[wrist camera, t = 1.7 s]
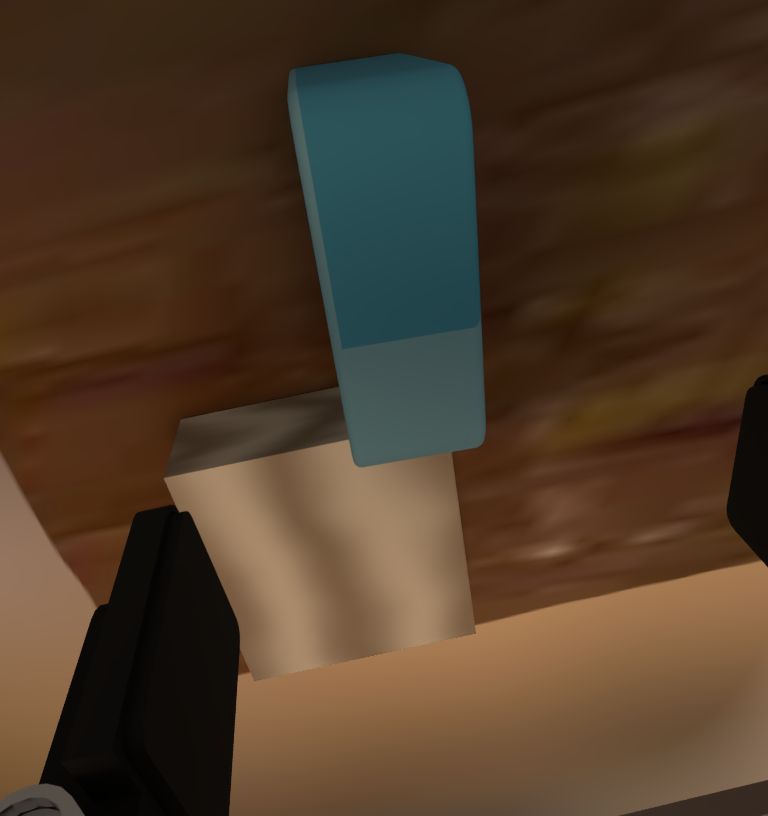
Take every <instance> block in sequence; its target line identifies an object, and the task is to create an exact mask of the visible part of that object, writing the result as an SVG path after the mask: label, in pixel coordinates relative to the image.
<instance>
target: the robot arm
mask: <svg viewBox="0 0 768 816" xmlns="http://www.w3.org/2000/svg"><path fill="white" fill-rule="evenodd" d="M727 516H728V519H729V522H730V524H731V526H732V527H733V528H734V530H735V531H736V532H737V533H738V534H739V535H740V537H741V538H742V539H743V540H744V541H745V542H746V543H747V544H748V545H749V547H750V548H751V549H752V550H753V551H754V552H755V553H756V554H757V556H758V557H759V558H760V559H761V560H762V561H763V562H764V563H765V564H766V566H767V567H768V374H767V375H763V376H761V377H759V378H758V379H757V380H756V381H755V384H754V387H751V388H749V390H748V391H747V394H746V397H745V403H744V409H743V415H742V421H741V427H740V432H739V438H738V444H737V450H736V456H735V462H734V467H733V473H732V479H731V485H730V491H729V497H728V502H727ZM239 651H240V631H239V625H238V621H237V618H236V616H235V613H234V611H233V609H232V607H231V604H230V602H229V600H228V598H227V595H226V593H225V591H224V588H223V586H222V584H221V582H220V579H219V577H218V575H217V572H216V570H215V568H214V566H213V563H212V561H211V559H210V557H209V554H208V552H207V550H206V547H205V545H204V543H203V541H202V538H201V536H200V534H199V531H198V529H197V527H196V525H195V522H194V520H193V518H192V516H191V514H190V513H189V512H188V511H183V512H179V511H178V509H177V508H176V507H175V506H174V505H169V506H164V507H160V508H155V509H150V510H146V511H141V512H138V513H137V514H135V517H134V519H133V522H132V525H131V529H130V532H129V536H128V539H127V542H126V546H125V549H124V552H123V556H122V559H121V563H120V566H119V569H118V573H117V576H116V579H115V583H114V586H113V590H112V593H111V596H110V600H109V603H108V604H104V605H100V606H99V607H98V608H97V609H96V610H95V612H94V614H93V617H92V619H91V622H90V625H89V628H88V631H87V634H86V637H85V640H84V644H83V647H82V650H81V653H80V656H79V659H78V663H77V666H76V669H75V672H74V675H73V678H72V681H71V685H70V688H69V691H68V694H67V697H66V701H65V704H64V707H63V710H62V713H61V716H60V719H59V722H58V726H57V729H56V732H55V735H54V738H53V741H52V745H51V748H50V751H49V754H48V757H47V760H46V764H45V767H44V770H43V773H42V776H41V779H40V782H39V785H33V786H27V787H25V788H23V789H20V790H18V791H16V792H14V793H11V794H9V795H7V796H6V797H4V798H3V799H2V800H0V816H229V805H230V790H231V789H230V788H231V775H232V774H231V773H232V759H233V744H234V728H235V727H234V726H235V713H236V696H237V681H238V666H239ZM620 816H768V780H766V781H762V782H758V783H754V784H750V785H745V786H741V787H737V788H733V789H729V790H724V791H720V792H716V793H712V794H708V795H704V796H699V797H695V798H691V799H687V800H683V801H678V802H674V803H670V804H666V805H662V806H658V807H654V808H649V809H645V810H642V811H637V812H633V813H629V814H625V815H620Z"/></svg>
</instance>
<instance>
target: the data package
mask: <svg viewBox="0 0 768 816" xmlns="http://www.w3.org/2000/svg"><path fill="white" fill-rule="evenodd" d="M287 101H288V109H289V115H290V121H291V128H292V133H293V139H294V145H295V151H296V156H297V162H298V167H299V173H300V178H301V183H302V189H303V194H304V200H305V205H306V210H307V216H308V221H309V227H310V232H311V237H312V243H313V248H314V254H315V259H316V264H317V270H318V275H319V281H320V286H321V291H322V297H323V302H324V308H325V313H326V318H327V324H328V329H329V335H330V340H331V345H332V351H333V356H334V362H335V367H336V373H337V378H338V383H339V389H340V394H341V400H342V405H343V410H344V416H345V421H346V427H347V432H348V437H349V443H350V448H351V453H352V458H353V462H354V464H355V465H356V466H358V467H368V466H374V465H379V464H385V463H391V462H396V461H402V460H408V459H414V458H419V457H425V456H431V455H436V454H442V453H448V452H454V451H459V450H465V449H471V448H476V447H479V446H480V445H481V444H482V443H483V441H484V438H485V433H486V415H485V393H484V371H483V348H482V326H481V303H480V281H479V258H478V236H477V213H476V191H475V168H474V146H473V129H472V119H471V112H470V105H469V100H468V95H467V91H466V88H465V84H464V81H463V79H462V76H461V75H460V73H459V71H458V70H457V69H456V68H455V67H454V66H452V65H450V64H446V63H442V62H438V61H433V60H429V59H425V58H420V57H416V56H411V55H407V54H403V53H395V54H389V55H382V56H375V57H368V58H361V59H355V60H348V61H341V62H334V63H327V64H321V65H314V66H307V67H300V68H294V69H292V70H291V71H290V73H289V81H288V95H287Z"/></svg>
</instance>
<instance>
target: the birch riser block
mask: <svg viewBox="0 0 768 816" xmlns="http://www.w3.org/2000/svg"><path fill="white" fill-rule="evenodd" d="M164 480H165V482H166V484H167V487H168V489H169V491H170V493H171V495H172V498H173V500H174V502H175V504H176V507H177V509H178V511H179V512H183V511H188V512H189V513H190V514H191V516H192V518H193V520H194V522H195V525H196V527H197V529H198V531H199V534H200V536H201V538H202V541H203V543H204V545H205V547H206V550H207V552H208V554H209V557H210V559H211V561H212V563H213V566H214V568H215V570H216V572H217V575H218V577H219V579H220V582H221V584H222V586H223V588H224V591H225V593H226V595H227V598H228V600H229V602H230V604H231V607H232V609H233V611H234V613H235V616H236V618H237V621H238V625H239V631H240V650H241V652H242V654H243V657H244V659H245V661H246V663H247V665H248V668H249V670H250V672H251V674H252V677H253V679H254V681H257V680H262V679H267V678H271V677H276V676H281V675H285V674H290V673H294V672H299V671H304V670H308V669H313V668H318V667H322V666H327V665H332V664H336V663H341V662H346V661H350V660H355V659H359V658H364V657H369V656H373V655H378V654H382V653H387V652H392V651H396V650H401V649H405V648H410V647H414V646H419V645H424V644H429V643H434V642H438V641H443V640H447V639H452V638H457V637H461V636H466V635H471V634H475V633H476V631H475V624H474V616H473V609H472V601H471V594H470V586H469V579H468V571H467V564H466V556H465V549H464V541H463V534H462V526H461V519H460V511H459V504H458V496H457V489H456V481H455V474H454V466H453V459H452V452H448V453H442V454H436V455H431V456H425V457H419V458H414V459H408V460H402V461H396V462H391V463H385V464H379V465H374V466H368V467H358V466H356V465H355V464H354V462H353V458H352V453H351V448H350V443H349V437H348V432H347V427H346V421H345V416H344V410H343V405H342V400H341V394H340V389H339V387H334V388H330V389H325V390H320V391H315V392H310V393H305V394H301V395H296V396H291V397H286V398H281V399H276V400H272V401H267V402H262V403H257V404H252V405H247V406H243V407H238V408H233V409H228V410H223V411H218V412H214V413H209V414H204V415H199V416H194V417H189V418H185V419H181V420H180V423H179V427H178V430H177V434H176V437H175V441H174V444H173V448H172V451H171V455H170V458H169V462H168V465H167V469H166V472H165V476H164Z"/></svg>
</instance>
